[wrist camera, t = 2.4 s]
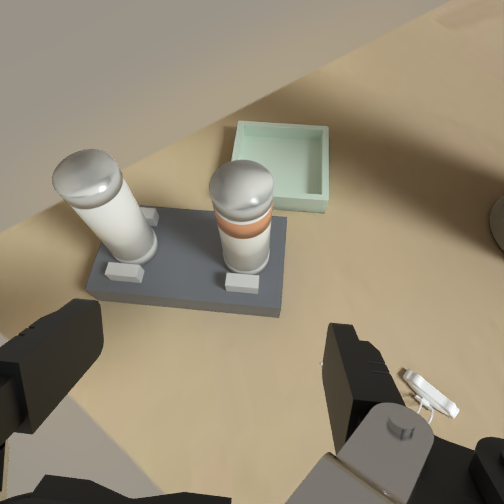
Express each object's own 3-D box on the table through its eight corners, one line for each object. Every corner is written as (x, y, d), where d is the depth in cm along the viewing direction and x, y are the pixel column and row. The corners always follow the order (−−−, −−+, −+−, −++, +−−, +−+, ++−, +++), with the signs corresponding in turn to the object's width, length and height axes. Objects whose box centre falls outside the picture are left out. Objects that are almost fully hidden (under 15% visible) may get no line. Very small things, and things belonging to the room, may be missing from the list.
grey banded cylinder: (270, 238, 27) (276, 161, 19) (267, 279, 25) (271, 214, 17) (227, 234, 27) (214, 157, 19) (221, 275, 26) (204, 209, 18)
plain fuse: (163, 229, 27) (124, 151, 19) (152, 268, 26) (105, 201, 18) (121, 226, 28) (65, 147, 20) (108, 265, 26) (42, 196, 18)
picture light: (316, 367, 25) (321, 362, 23) (349, 326, 27) (357, 318, 25) (493, 527, 21) (517, 537, 19) (521, 467, 22) (546, 471, 20)
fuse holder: (284, 232, 30) (288, 209, 27) (279, 317, 26) (282, 303, 23) (125, 219, 31) (109, 195, 28) (98, 300, 27) (76, 283, 24)
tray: (325, 140, 35) (328, 126, 33) (324, 213, 31) (328, 200, 29) (239, 135, 36) (238, 120, 34) (227, 205, 32) (225, 192, 30)
